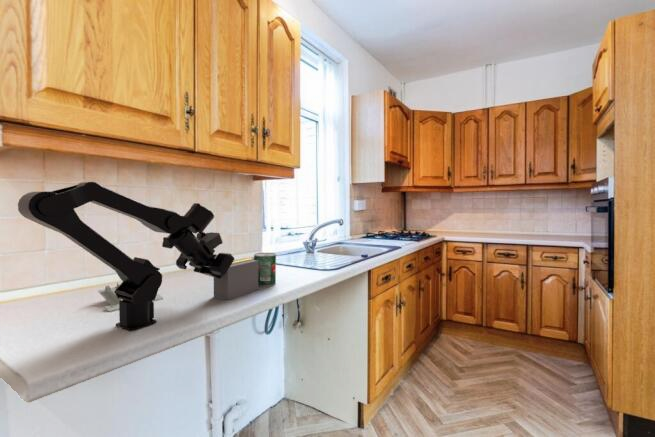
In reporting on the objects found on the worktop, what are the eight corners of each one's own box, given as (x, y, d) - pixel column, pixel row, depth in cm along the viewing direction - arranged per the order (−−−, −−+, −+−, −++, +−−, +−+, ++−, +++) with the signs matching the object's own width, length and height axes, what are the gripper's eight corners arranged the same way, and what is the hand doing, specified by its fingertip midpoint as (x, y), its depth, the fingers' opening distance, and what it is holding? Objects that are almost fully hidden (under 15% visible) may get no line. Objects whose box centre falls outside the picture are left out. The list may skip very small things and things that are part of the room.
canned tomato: (249, 283, 121) (250, 253, 120) (268, 280, 126) (269, 251, 125) (260, 288, 115) (260, 256, 114) (279, 284, 120) (280, 254, 119)
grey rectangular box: (227, 299, 100) (227, 266, 100) (213, 297, 103) (213, 264, 103) (258, 289, 112) (258, 259, 112) (244, 287, 115) (244, 257, 115)
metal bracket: (89, 285, 94) (142, 275, 107) (87, 303, 96) (140, 291, 108) (111, 308, 87) (166, 295, 99) (109, 327, 88) (163, 312, 101)
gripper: (229, 225, 91) (255, 259, 101) (184, 222, 100) (212, 253, 110) (206, 257, 85) (237, 290, 95) (160, 251, 93) (193, 281, 104)
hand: (220, 277), depth 101 cm, fingers closed, pressing on grey rectangular box
